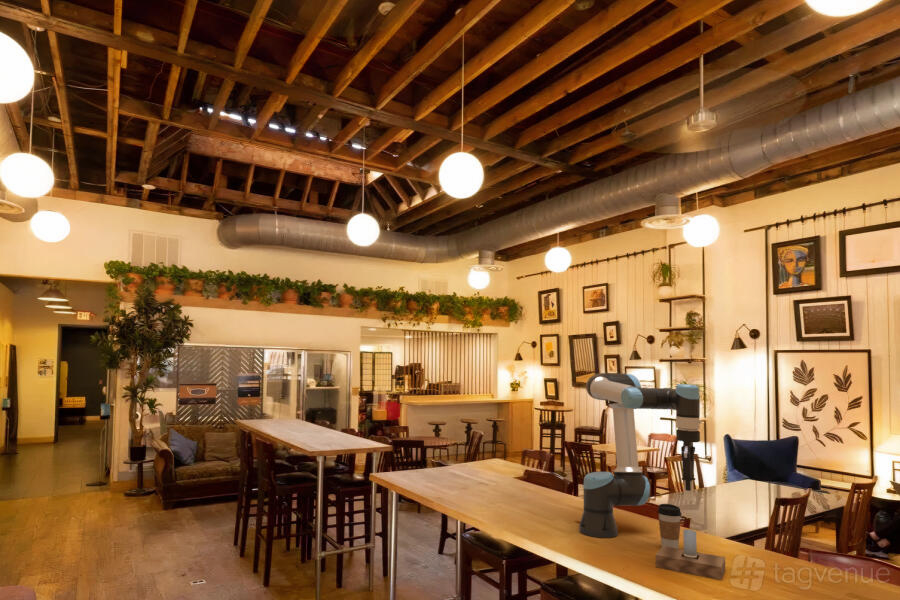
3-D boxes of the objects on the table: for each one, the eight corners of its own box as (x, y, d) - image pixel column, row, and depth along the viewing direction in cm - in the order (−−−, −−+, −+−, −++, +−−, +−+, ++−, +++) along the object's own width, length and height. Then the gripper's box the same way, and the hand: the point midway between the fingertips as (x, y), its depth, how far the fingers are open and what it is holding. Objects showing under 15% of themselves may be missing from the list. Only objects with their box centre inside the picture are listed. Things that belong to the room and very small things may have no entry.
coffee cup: (676, 544, 215) (675, 503, 217) (686, 551, 207) (685, 509, 209) (654, 543, 215) (654, 503, 217) (663, 551, 207) (663, 508, 208)
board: (655, 567, 189) (655, 554, 189) (662, 557, 199) (662, 545, 199) (721, 580, 179) (721, 567, 179) (725, 569, 189) (725, 557, 189)
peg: (683, 568, 188) (682, 531, 190) (685, 565, 192) (684, 528, 193) (696, 571, 186) (695, 533, 187) (698, 567, 189) (697, 530, 191)
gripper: (697, 432, 187) (697, 505, 184) (702, 428, 198) (703, 497, 195) (673, 430, 191) (673, 501, 188) (679, 426, 202) (680, 494, 199)
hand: (688, 499), depth 192 cm, fingers closed
